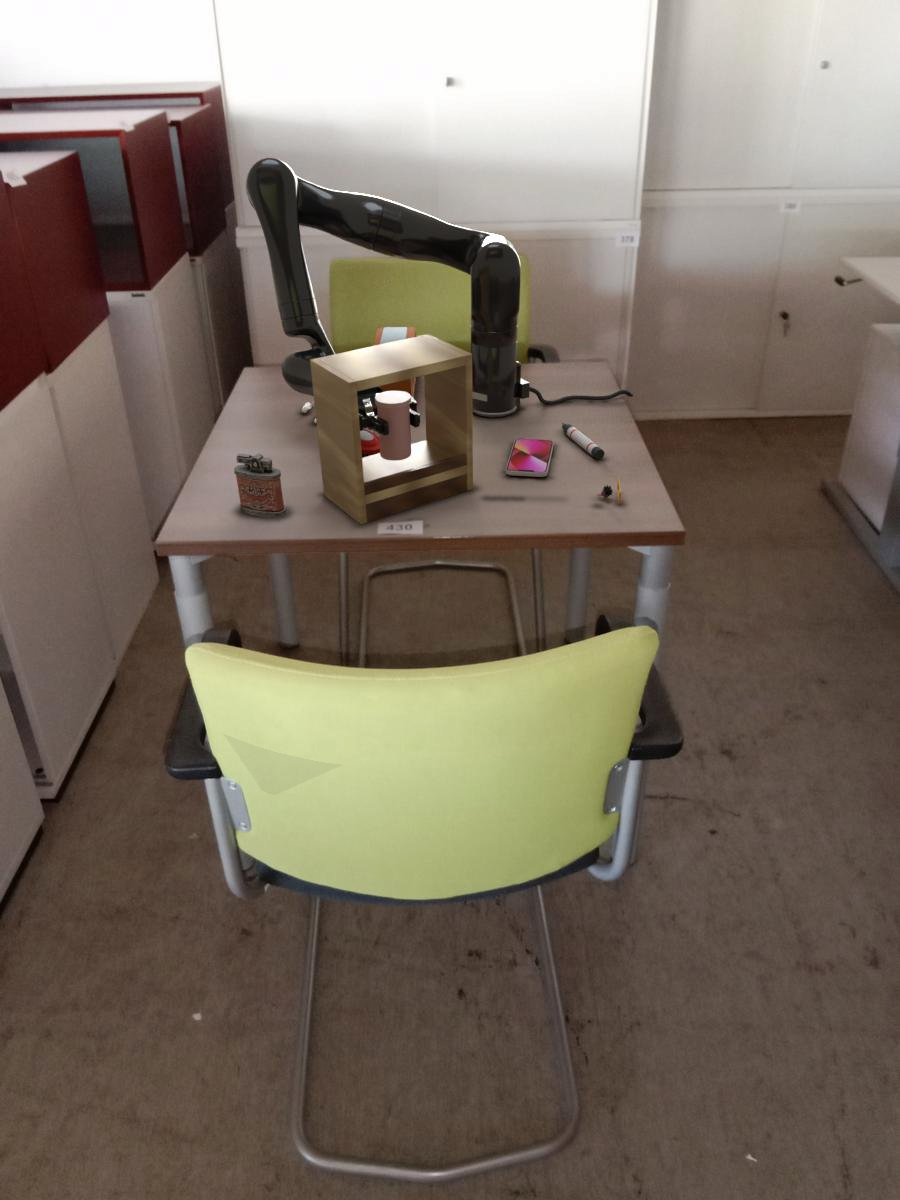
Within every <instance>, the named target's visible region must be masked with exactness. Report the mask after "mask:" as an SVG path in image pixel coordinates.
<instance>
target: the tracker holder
mask: <svg viewBox="0 0 900 1200" xmlns="http://www.w3.org/2000/svg"><path fill="white" fill-rule="evenodd" d="M360 438H361V451H362V455H368V456H371V455H375V454H378V453H380V442H379V435H377V434H376V433H374V432H372V431H371V430H369V429H368V428H367V427H366V428H364V430H363V431H360Z"/></svg>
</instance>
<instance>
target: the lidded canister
mask: <svg viewBox="0 0 900 1200" xmlns="http://www.w3.org/2000/svg"><path fill="white" fill-rule="evenodd" d="M375 403H376V405H377V410H378V416H379V417H380V418H382V419H383V420H385V421H387V422H388V425H389V434H388V435H385V436H384V435H382V434H380V433H378V437H379V442H380V452H379V453H380V455H381V457H382V458H384V459H386V460H392V461H397V460H403V459H406V458H408V457H410V456H411V444H412V437H411V436H412V435H411V434H412V433H411V425H410V408H409V404H410V403H411V395H410V394H409V393H407V392H403V391H385V392H382V393H379V394H377V395H376V396H375Z"/></svg>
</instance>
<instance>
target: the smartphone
mask: <svg viewBox="0 0 900 1200" xmlns="http://www.w3.org/2000/svg"><path fill="white" fill-rule="evenodd" d="M554 443H555V442H554V441H553V440H551V439H540V438H539V439H537V438H515V440H514V441H513V444H512V447H511V451H510V454H509V457H508V461H507V463H506V466H505V474H507V475H509V476H519V477H537V478H538V477H539V478H544V477H546V476H548V474H549V469H550V465H551V459H552V454H553V450H554Z"/></svg>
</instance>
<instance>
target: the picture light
mask: <svg viewBox="0 0 900 1200" xmlns="http://www.w3.org/2000/svg"><path fill="white" fill-rule="evenodd" d="M313 404H315V403H314V401H312V402H309V401H306V402H305V403H304V405H303V406H302V408H301V412H302V413H303V414H307V413H308V411H309V410H311V409H312V408H313V406H312V405H313ZM313 422H314V424H317V422H316V418H315V419H314V420H313Z"/></svg>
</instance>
